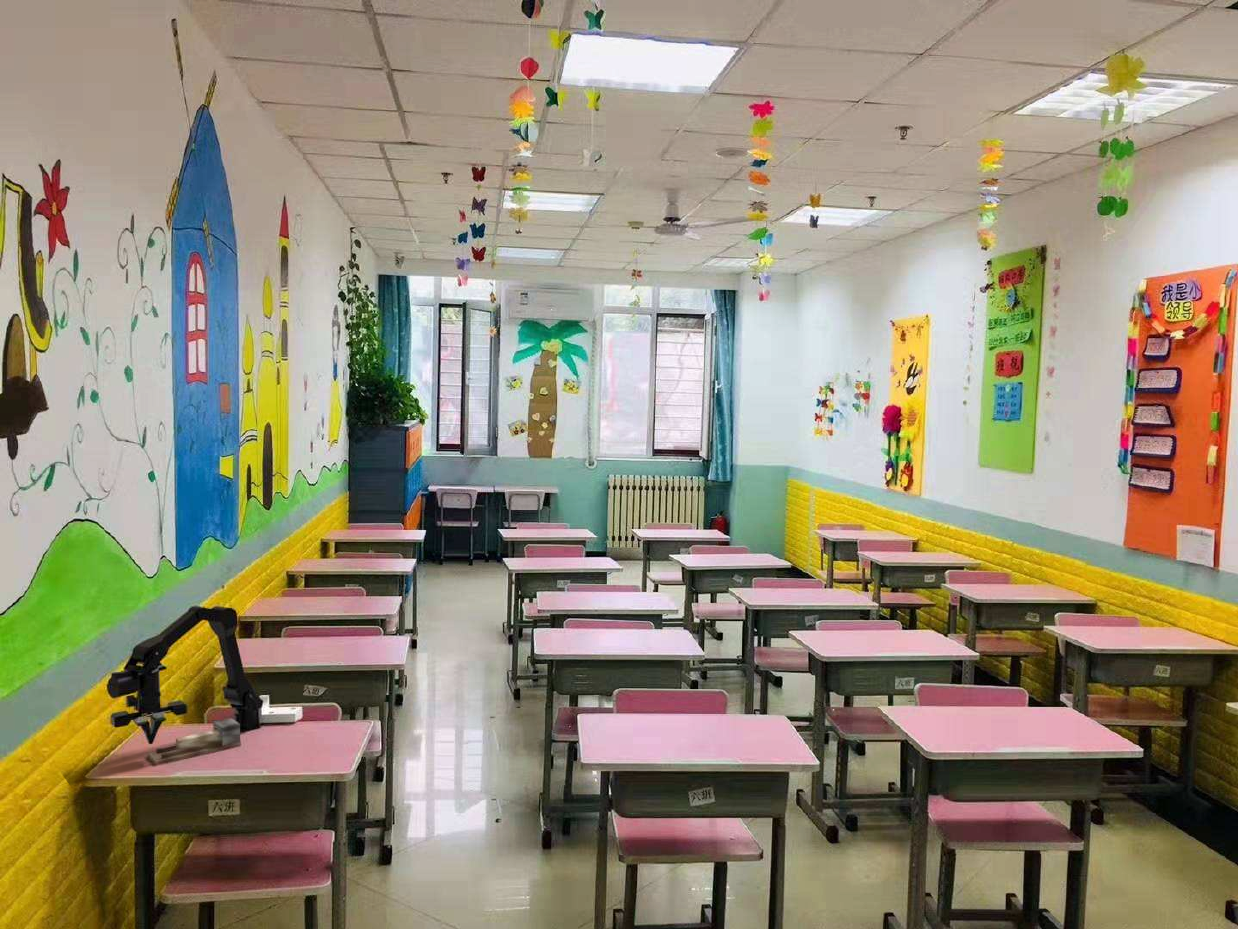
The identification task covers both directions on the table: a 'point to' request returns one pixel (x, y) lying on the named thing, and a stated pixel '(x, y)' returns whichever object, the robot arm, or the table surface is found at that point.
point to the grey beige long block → (197, 739)
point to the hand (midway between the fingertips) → (150, 743)
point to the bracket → (278, 712)
